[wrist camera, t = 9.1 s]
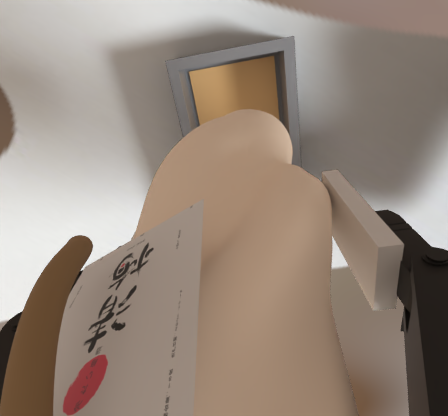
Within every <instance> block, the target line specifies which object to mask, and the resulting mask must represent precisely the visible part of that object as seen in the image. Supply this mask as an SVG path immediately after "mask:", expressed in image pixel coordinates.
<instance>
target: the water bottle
mask: <svg viewBox="0 0 448 416" xmlns="http://www.w3.org/2000/svg"><path fill="white" fill-rule="evenodd" d="M292 155H293V149H292V143H291V139H290V136H289V134H288V132H287V130H286V128H285V127H284V125H283V124H282V123H281V122H280V121H279V120H278V119H277V118H276V117H274V116H273V115H271V114H269V113H266V112H263V111H260V110H254V109H243V110H237V111H234V112H231V113H229V114H227V115H225V116H222V117H219V118H216V119H213V120H210V121H208V122H206V123H204V124H202V125H200V126H199V127H197V128H195V129H194V130H192V131H191V132H190V133H188V134H187V135H186V136H185V137H184V138H182V139H181V140H180V141H179V142H178V143H177V144H176V145H175V146H174V147H173V148H172V150H171V151H170V152H169V153H168V155H167V156H166V157H165V159H164V160H163V162H162V163H161V165H160V167H159V168H158V170H157V172H156V174H155V176H154V178H153V180H152V183H151V185H150V188H149V190H148V193H147V196H146V199H145V202H144V206H143V209H142V212H141V215H140V219H139V222H138V226H137V229H136V233H135V236H134V239H133V240H131V241H130V242H128V243H126V244H124V245H123V246H121V247H119V248H117V249H116V250H114V251H112V252H111V253H109V254H107V255H105V256H104V257H102V258H100V259H98V260H97V261H95V262H93V263H92V264H90V265H88V266H86V267H85V269H84V270H83V272H82V274H81V275H80V277H79V279H78V280H77V282H76V284H75V286H74V287H73V289H72V291H71V288H72V286H73V284H74V281H75V279H76V277H77V275H78V274H79V272H80V270H81V269H82V267H83V265H84V264H85V262H86V261H87V259H88V258H89V256H90V254H91V252H92V248H93V244H92V241H91V240H90V239H89V238H88V237H86V236H82V235H78V236H74V237H72V238H71V239H70V240H69V241H68V242H67V244H66V245H65V246H64V247H63V248H62V249H61V250H60V251H59V252H58V253H57V254H56V255H55V256H54V257H53V258H52V260H51V261H50V262H49V263H48V265H47V266H46V267H45V269H44V270H43V272H42V273H41V275H40V277H39V278H38V280H37V282H36V283H35V285H34V287H33V289H32V291H31V293H30V295H29V298H28V300H27V302H26V304H25V307H24V309H23V312H22V315H21V318H20V320H19V323H18V326H17V330H16V333H15V336H14V340H13V343H12V347H11V351H10V355H9V360H8V364H7V369H6V374H5V379H4V384H3V390H2V396H1V403H0V416H359V414H358V411H357V407H356V403H355V399H354V395H353V391H352V387H351V383H350V380H349V376H348V372H347V368H346V364H345V360H344V357H343V353H342V349H341V345H340V342H339V337H338V333H337V329H336V325H335V321H334V317H333V312H332V306H331V294H330V282H331V263H332V206H331V200H330V196H329V193H328V190H327V189H326V187H325V186H324V184H323V183H322V182H321V181H320V180H319V179H318V178H316V177H315V176H313V175H311V174H309V173H308V172H307V171H305V170H304V169H303V168H301V167H299V166H296V165H292ZM70 291H71V292H70Z"/></svg>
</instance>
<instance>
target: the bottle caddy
mask: <svg viewBox="0 0 448 416" xmlns="http://www.w3.org/2000/svg"><path fill="white" fill-rule="evenodd" d="M165 62H166V66H167V70H168V74H169V79H170V83H171V87H172V91H173V96H174V100H175V104H176V109H177V113H178V117H179V121H180V126H181V130H182V134H183V138H184V137H185V136H186V135H187V134H188V133H190V132H191V131H192V130H194V129H195V128H197V127H199V126H200V125H202V124H204V123H206V122H208V121H210V120H213V119H216V118H219V117H222V116H225V115H227V114H229V113H231V112H234V111H237V110H243V109H254V110H260V111H263V112H266V113H269V114H271V115H273V116H274V117H276V118H277V119H278V120H279V121H280V122H281V123H282V124H283V125H284V127H285V128H286V130H287V132H288V134H289V136H290V139H291V143H292V149H293V155H292V165H296V166H299V167H301V152H300V133H299V115H298V97H297V78H296V60H295V41H294V36H291V37H286V38H281V39H276V40H270V41H265V42H260V43H255V44H250V45H245V46H239V47H234V48H229V49H224V50H219V51H214V52H208V53H203V54H198V55H193V56H188V57H183V58H177V59H172V60H167V61H165Z"/></svg>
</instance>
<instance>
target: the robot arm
mask: <svg viewBox="0 0 448 416" xmlns="http://www.w3.org/2000/svg"><path fill="white" fill-rule="evenodd" d="M322 183H323V184H324V186H325V187H326V189H327V190H328V193H329V196H330V200H331V206H332V236H333V238H334V240H335V241H336V243H337V245H338V247H339V249H340V251H341V252H342V254H343V256H344V258H345V260H346V262H347V263H348V265H349V267H350V268H351V271H352V273H353V274H354V276H355V278H356V280H357V282H358V284H359V285H360V287H361V289H362V291H363V293H364V294H365V296H366V298H367V300H368V302H369V304H370V306H371V307H372V309H373V311H376V310H386V309H396V303H397V296H398V297H399V299H400V300H401V302H402V303H403V305H404V312H403V318H402V325H401V331H404V338H405V354H406V371H407V386H408V402H409V416H448V251H447V250H444V249H440V248H435V247H431V246H430V245H429V244H428V243H427V242H426V241H425V240H424V239H423V238H422V237H421V236H420V235H419V234H418V233H417V232H416V231H415V230H414V229H412V227H411V226H410V225H409V224H408V223H406V221H405V220H404V219H403V218H402V217H401V216H399V215H398V214H396V213H394V212H392V211H389V210H382V211H374V210H373V209H372V208H371V207H370V205H369V204H368V203H367V202H366V201H365V200H364V199H363V198H362V197H361V195H360V194H359V193H358V192H357V191H356V190H355V189H354V188H353V186H352V185H351V184H350V183H349V182H348V181H347V180H346V179H345V178H344V176H343V175H342V174H341V173H340V172H339V171H338V170H337V169H336V170H330V171H323V172H322ZM135 233H136V232H135ZM135 233H134V235H133V237H132V239H131V240H133V239H134V236H135ZM119 247H121V246H119ZM119 247H118V248H119ZM82 272H83V270H82V271H80V272H79V274H78V275H77V277H76V279H75V281H74V284H73V286H72V288H71V291H72V289H73V287H74V286H75V284H76V282H77V280H78V279H79V277H80V275H81V274H82ZM71 291H70V292H71ZM22 312H23V311H22ZM22 312H20V313H18V314H17V315H15V316H14V317H13V318H12V319H10V320H9V321H8V322H7V323H6V324H5V326H4V327H3V328H2V330H1V331H0V403H1V396H2V390H3V384H4V379H5V374H6V369H7V364H8V360H9V355H10V351H11V347H12V343H13V340H14V336H15V333H16V330H17V326H18V323H19V320H20V318H21V315H22Z"/></svg>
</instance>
